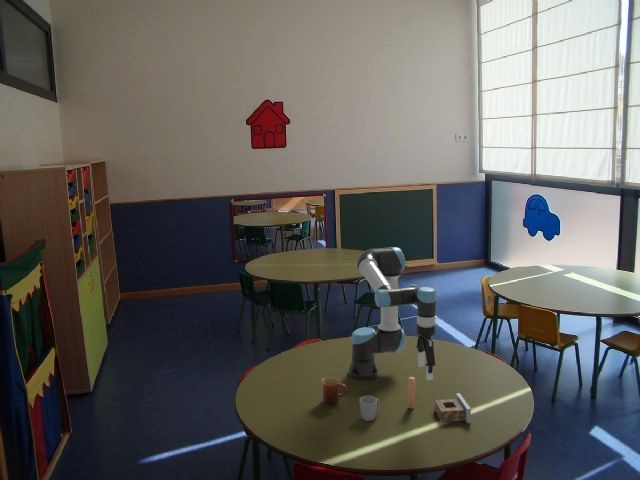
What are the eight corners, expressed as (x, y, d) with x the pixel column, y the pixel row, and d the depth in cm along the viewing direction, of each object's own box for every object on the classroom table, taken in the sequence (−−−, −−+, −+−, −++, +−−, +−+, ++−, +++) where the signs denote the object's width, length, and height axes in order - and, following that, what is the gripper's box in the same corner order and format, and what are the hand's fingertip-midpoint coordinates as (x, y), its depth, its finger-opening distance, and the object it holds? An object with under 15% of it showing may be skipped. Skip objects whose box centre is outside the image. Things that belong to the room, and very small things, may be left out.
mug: (319, 405, 249) (318, 384, 247) (325, 396, 257) (324, 375, 255) (344, 408, 245) (344, 387, 243) (349, 399, 253) (349, 379, 251)
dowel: (409, 409, 243) (409, 379, 241) (407, 406, 246) (407, 377, 243) (415, 408, 244) (415, 379, 241) (413, 405, 246) (414, 376, 244)
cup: (356, 416, 238) (355, 398, 236) (374, 410, 243) (374, 392, 242) (366, 424, 232) (366, 405, 230) (385, 417, 237) (385, 399, 235)
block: (441, 422, 232) (441, 411, 231) (434, 410, 242) (434, 400, 241) (464, 420, 233) (464, 409, 232) (456, 408, 242) (456, 398, 242)
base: (466, 423, 231) (467, 409, 230) (455, 406, 244) (456, 393, 243) (470, 422, 231) (470, 408, 230) (459, 406, 245) (459, 393, 243)
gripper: (443, 334, 216) (442, 385, 221) (426, 314, 241) (425, 360, 245) (425, 335, 216) (424, 386, 220) (409, 315, 240) (409, 361, 244)
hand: (425, 372), depth 232 cm, fingers open, 12 cm apart
